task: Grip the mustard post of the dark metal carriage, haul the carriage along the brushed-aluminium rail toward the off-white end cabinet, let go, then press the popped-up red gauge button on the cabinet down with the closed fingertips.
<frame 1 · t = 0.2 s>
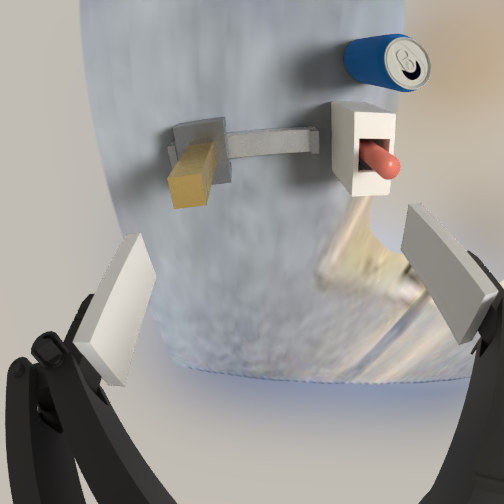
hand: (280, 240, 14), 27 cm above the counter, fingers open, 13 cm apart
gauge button: (374, 155, 29), point 9 cm above the counter, slide at 0.0 cm
carriage: (198, 164, 31), point 8 cm above the counter, slide at 0.0 cm
rail: (243, 141, 37), on the counter
beverage can: (363, 61, 31), on the counter
end cabinet: (348, 136, 37), on the counter
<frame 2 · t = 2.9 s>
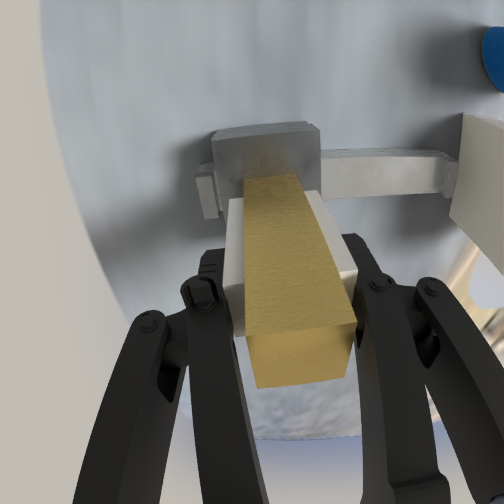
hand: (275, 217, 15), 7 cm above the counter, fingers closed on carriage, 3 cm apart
carriage: (278, 230, 14), point 8 cm above the counter, slide at 0.0 cm, touching gripper
rail: (333, 169, 21), on the counter
beverage can: (497, 59, 14), on the counter
end cabinet: (475, 167, 20), on the counter
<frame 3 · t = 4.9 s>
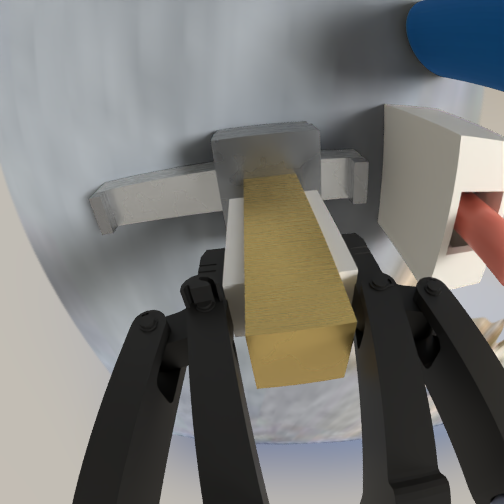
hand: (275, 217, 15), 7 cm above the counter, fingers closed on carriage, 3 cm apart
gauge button: (476, 223, 13), point 9 cm above the counter, slide at 0.0 cm
carriage: (278, 229, 14), point 8 cm above the counter, slide at 7.9 cm, touching gripper
rail: (226, 179, 21), on the counter
beverage can: (434, 38, 14), on the counter
end cabinet: (409, 166, 20), on the counter
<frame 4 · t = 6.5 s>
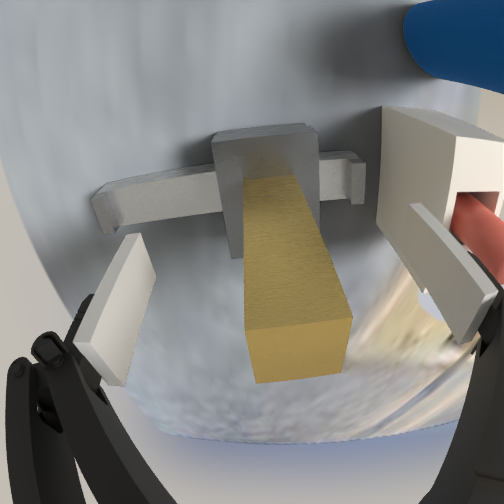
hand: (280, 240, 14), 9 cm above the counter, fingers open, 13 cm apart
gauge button: (472, 222, 13), point 9 cm above the counter, slide at 0.0 cm
carriage: (277, 229, 15), point 8 cm above the counter, slide at 8.0 cm
rail: (225, 180, 21), on the counter
beverage can: (431, 40, 14), on the counter
end cabinet: (406, 167, 21), on the counter
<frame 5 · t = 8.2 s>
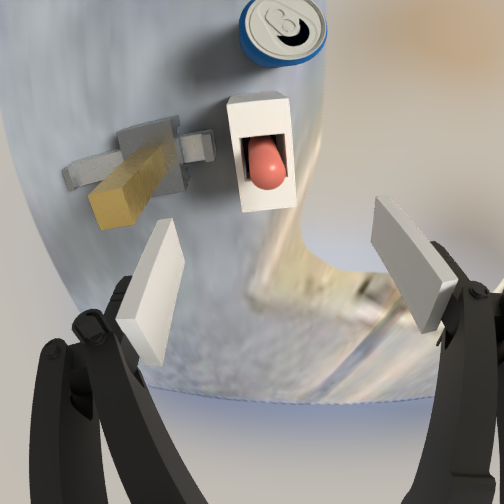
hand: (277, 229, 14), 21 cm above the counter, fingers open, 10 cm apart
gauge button: (264, 157, 24), point 9 cm above the counter, slide at 0.0 cm
carriage: (140, 173, 26), point 8 cm above the counter, slide at 8.0 cm
rail: (138, 155, 32), on the counter
beverage can: (270, 40, 25), on the counter
end cabinet: (258, 135, 31), on the counter
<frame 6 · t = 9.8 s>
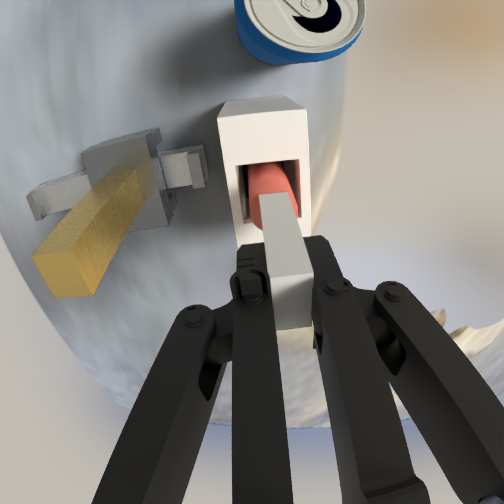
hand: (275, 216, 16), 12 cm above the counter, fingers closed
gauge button: (268, 183, 19), point 8 cm above the counter, slide at 1.4 cm, touching gripper
carriage: (107, 209, 19), point 8 cm above the counter, slide at 8.0 cm
rail: (112, 177, 26), on the counter
beverage can: (277, 30, 19), on the counter
end cabinet: (261, 152, 25), on the counter
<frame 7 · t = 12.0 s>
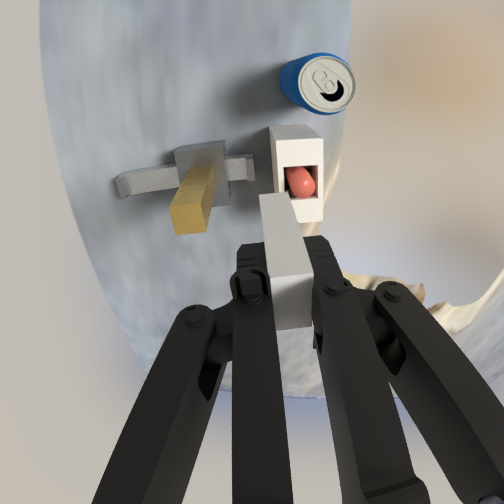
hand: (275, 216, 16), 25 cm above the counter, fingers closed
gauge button: (297, 174, 34), point 6 cm above the counter, slide at 2.8 cm
carriage: (198, 189, 33), point 8 cm above the counter, slide at 8.0 cm
rail: (185, 171, 39), on the counter
beverage can: (303, 81, 33), on the counter
end cabinet: (289, 160, 39), on the counter
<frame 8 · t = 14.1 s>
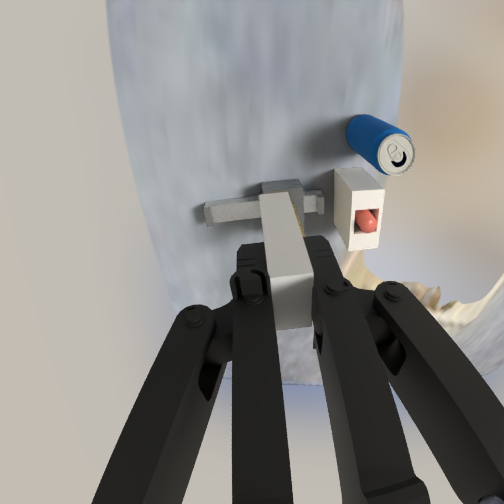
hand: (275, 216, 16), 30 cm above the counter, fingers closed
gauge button: (360, 212, 43), point 6 cm above the counter, slide at 2.8 cm
carriage: (287, 224, 42), point 8 cm above the counter, slide at 8.0 cm
rail: (263, 203, 48), on the counter
beverage can: (362, 132, 42), on the counter
end cabinet: (347, 195, 48), on the counter
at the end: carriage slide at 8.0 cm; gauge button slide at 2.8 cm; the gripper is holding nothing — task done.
